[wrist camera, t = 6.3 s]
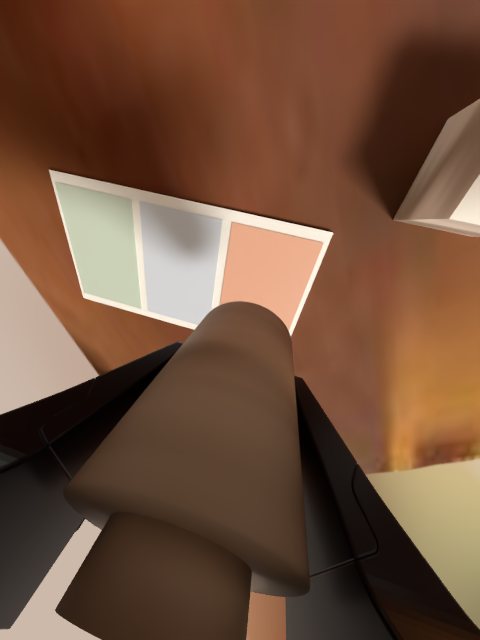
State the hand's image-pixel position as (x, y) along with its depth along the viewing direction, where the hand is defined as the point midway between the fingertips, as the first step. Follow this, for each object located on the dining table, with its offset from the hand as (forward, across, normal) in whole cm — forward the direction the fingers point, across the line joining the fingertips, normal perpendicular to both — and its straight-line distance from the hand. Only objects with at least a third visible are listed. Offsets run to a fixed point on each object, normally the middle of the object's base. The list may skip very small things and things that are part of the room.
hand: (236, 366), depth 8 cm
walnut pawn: (+2, 0, 0) cm, 2 cm away
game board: (+10, +8, 0) cm, 13 cm away
